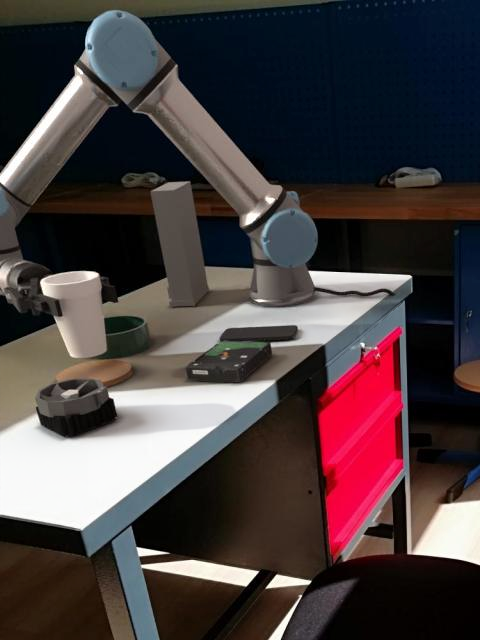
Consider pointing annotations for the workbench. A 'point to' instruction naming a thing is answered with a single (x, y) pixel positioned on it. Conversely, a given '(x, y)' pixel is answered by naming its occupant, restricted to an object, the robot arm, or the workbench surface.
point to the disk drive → (229, 361)
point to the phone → (259, 333)
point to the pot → (125, 336)
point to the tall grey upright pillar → (180, 243)
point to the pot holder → (98, 371)
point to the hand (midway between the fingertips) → (87, 301)
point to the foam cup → (79, 311)
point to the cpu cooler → (74, 406)
